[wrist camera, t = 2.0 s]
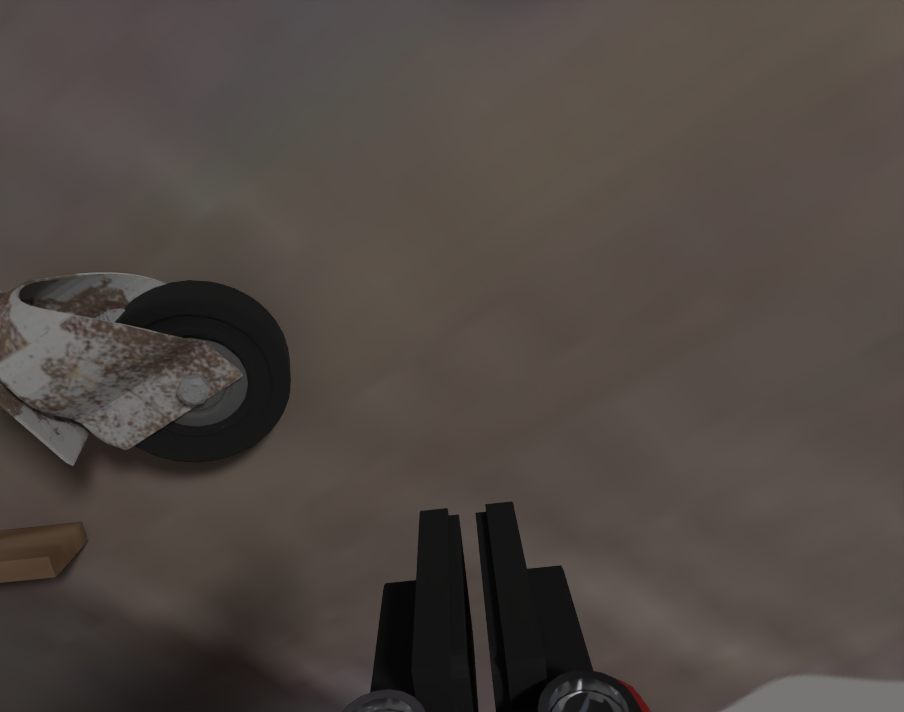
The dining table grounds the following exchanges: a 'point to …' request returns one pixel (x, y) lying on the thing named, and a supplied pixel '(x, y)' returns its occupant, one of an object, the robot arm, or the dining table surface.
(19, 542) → the walnut bay
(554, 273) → the dining table surface
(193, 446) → the caster wheel
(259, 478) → the dining table surface
